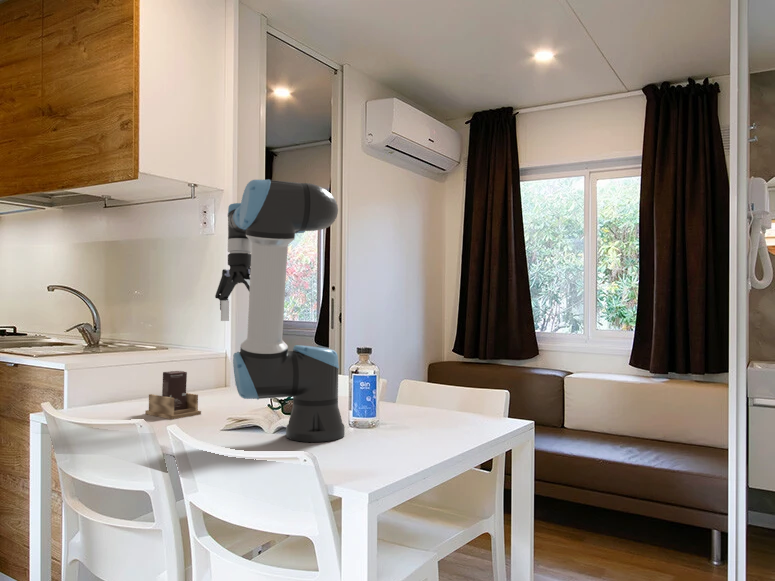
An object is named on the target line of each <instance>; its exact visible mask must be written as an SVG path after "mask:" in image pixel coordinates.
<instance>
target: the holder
mask: <svg viewBox="0 0 775 581" xmlns="http://www.w3.org/2000/svg"><path fill="white" fill-rule="evenodd" d="M198 408H199V394H197V393H191V392H190V393H189V392H186V408H185V409H183V410H177V411H174V398H171V397H165V396H162V395H160V394H159V395H158V394H153V393H151V394H148V409H147V410H145V415H149V416H155V417H159V418H164V419H169V420H176V419H177V420H178V419H182V418H188V417H193V416H199V415H200V416H201V415H202V410H199V409H198Z"/></svg>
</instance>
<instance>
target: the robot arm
mask: <svg viewBox="0 0 775 581" xmlns="http://www.w3.org/2000/svg"><path fill="white" fill-rule="evenodd" d="M227 211H228V212H227V233H228V234H227V235H228V236H227V252H228V254H227V265H228V266H229V269H225V268H224V269H222V272H221V277H220V281H219V283H218V287H217V289H216V293H215V295H214V297H215V299H218V300H219V309H220V322H229V321H230V300H229V297H230V296H231V293H232V292H233V290H234V288H235V287H236V285H238V284H244V286H245V287H246V289H247V291H248V292H249V294H248V313H247V314H248V316H247V317H248V318H247V336H246V339H245V340H244V341H243V342H241V344H240V349H239V350H240V352H239V351H236V352H234V353H233V358H232V366H233V374H234V381H235V387H236V390H237V392H238V393H237V394H238V395H239V396H240V397H241V398H242V399H243V400H261V399H263V400H265V399H277V398H278V399H279V398H291V397H292V399H293V400H292V409H291V412H290V414H289V415H290V416H289V420H288V424H287V425H286V428H285V437H286V439H289V440H291V441H296V442H302V443H303V442H304V443H318V442H319V443H320V442H321V443H322V442H331V441H335V440H340V439H342V438H343V437H344V436H345V428H346V427H345V424H344V423H343V420H342V419H343V418H342V415H341V411H340V408H339V369H340V366H339V355H338V353H337V351H336V350H334V349H331V348H327V347H318V346H311V345H303V344H302V345H301V344H299V345H298V344H297V345H294V346H293V347H292V350H289V345H288V344H287V343H286V342H285V341H284V339H283V334H284V333H283V332H284V316H285V299H286V282H287V264H288V248H289V247H288V246H289V244H290V243H291V242H293V241H294V240H295V238H296V234H304V233H306V232H316V231H321V230H325V229H328V228H329V227H331V225H333V224H334V222H335V221H336V219H337V217H338V212H339V207H338V204H337V201H336V198H335V197H334V196H333V194H332V193H330V192H329V191H328V190H327V189H326V188H324V187H322V186H321V185H317V184H314V183H307V182H296V181H293V182H292V181H284V180H273V179H269V178H268V179H252V180H250V181H248V182H247V184H246V186H245V187H244V190H243V194H242V197H241V202H234V203H231V204H229V206H228V209H227Z"/></svg>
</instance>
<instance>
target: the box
mask: <svg viewBox="0 0 775 581" xmlns="http://www.w3.org/2000/svg"><path fill="white" fill-rule="evenodd" d="M187 375H188V372H187V371H183V370H174V371H173V370H172V371H171V370H170V371H162V392H161V396H165V397H171V398H174V411H177V410H183V409H185V408H186V393H187V380H188V379H187V377H188V376H187Z"/></svg>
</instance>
